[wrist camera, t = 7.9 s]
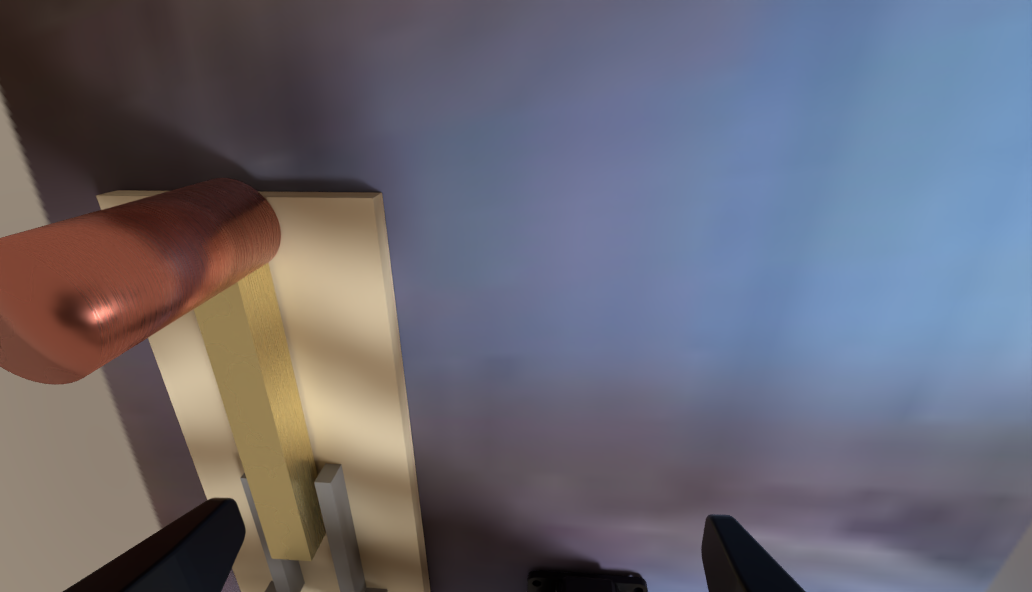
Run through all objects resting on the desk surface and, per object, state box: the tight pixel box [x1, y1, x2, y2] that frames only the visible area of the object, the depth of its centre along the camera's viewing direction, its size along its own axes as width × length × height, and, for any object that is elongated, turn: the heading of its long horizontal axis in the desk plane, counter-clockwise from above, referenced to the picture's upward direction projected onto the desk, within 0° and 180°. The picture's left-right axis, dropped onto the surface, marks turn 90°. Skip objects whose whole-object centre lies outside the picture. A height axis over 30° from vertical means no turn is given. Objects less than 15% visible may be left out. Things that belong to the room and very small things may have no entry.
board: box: [96, 190, 431, 592], centre depth 21 cm, size 27×11×7 cm, turn 0°
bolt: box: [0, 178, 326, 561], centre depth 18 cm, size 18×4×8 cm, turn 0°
